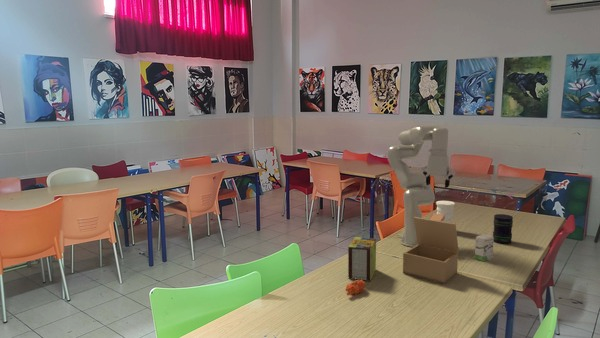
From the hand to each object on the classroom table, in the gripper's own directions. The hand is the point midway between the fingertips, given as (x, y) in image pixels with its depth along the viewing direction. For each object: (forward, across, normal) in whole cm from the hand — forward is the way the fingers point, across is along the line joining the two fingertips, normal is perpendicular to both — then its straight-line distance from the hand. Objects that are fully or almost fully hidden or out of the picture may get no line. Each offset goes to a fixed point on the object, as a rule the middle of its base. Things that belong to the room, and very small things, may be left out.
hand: (437, 185), depth 224 cm
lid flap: (+20, +7, -17) cm, 27 cm away
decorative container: (+39, -13, +47) cm, 63 cm away
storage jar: (+38, +21, +47) cm, 64 cm away
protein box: (+38, -17, -43) cm, 60 cm away
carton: (+37, +8, -22) cm, 44 cm away
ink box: (+38, +21, +13) cm, 45 cm away
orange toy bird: (+37, -9, -62) cm, 73 cm away
